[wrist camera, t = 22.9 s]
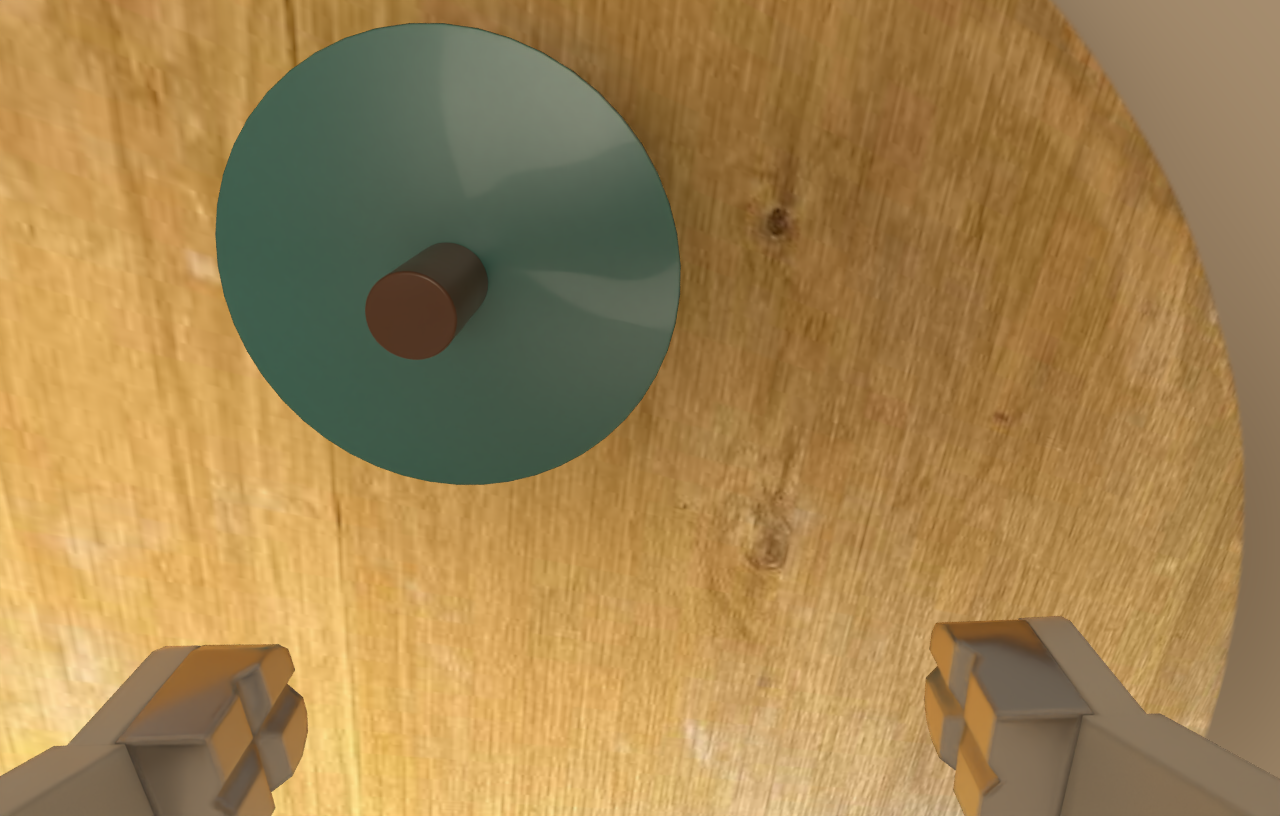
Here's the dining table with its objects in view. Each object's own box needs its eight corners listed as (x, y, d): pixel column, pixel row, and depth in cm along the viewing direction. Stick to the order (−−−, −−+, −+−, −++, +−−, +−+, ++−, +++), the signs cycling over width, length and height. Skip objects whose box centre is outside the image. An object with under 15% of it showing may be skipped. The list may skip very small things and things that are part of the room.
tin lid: (175, 45, 22) (34, 25, 17) (667, 9, 22) (676, -23, 17) (292, 483, 28) (212, 569, 22) (688, 459, 27) (700, 541, 22)
